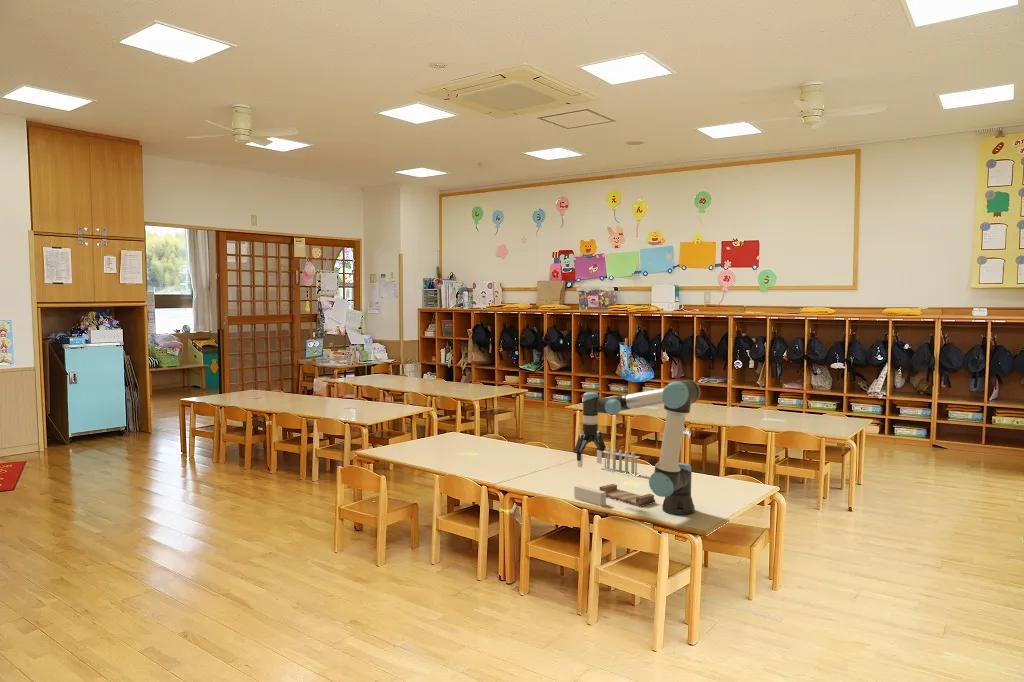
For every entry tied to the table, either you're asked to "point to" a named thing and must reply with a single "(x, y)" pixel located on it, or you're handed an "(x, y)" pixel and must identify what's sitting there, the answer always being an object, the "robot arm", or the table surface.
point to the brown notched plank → (627, 496)
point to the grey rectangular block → (590, 495)
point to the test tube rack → (620, 461)
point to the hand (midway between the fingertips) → (589, 465)
